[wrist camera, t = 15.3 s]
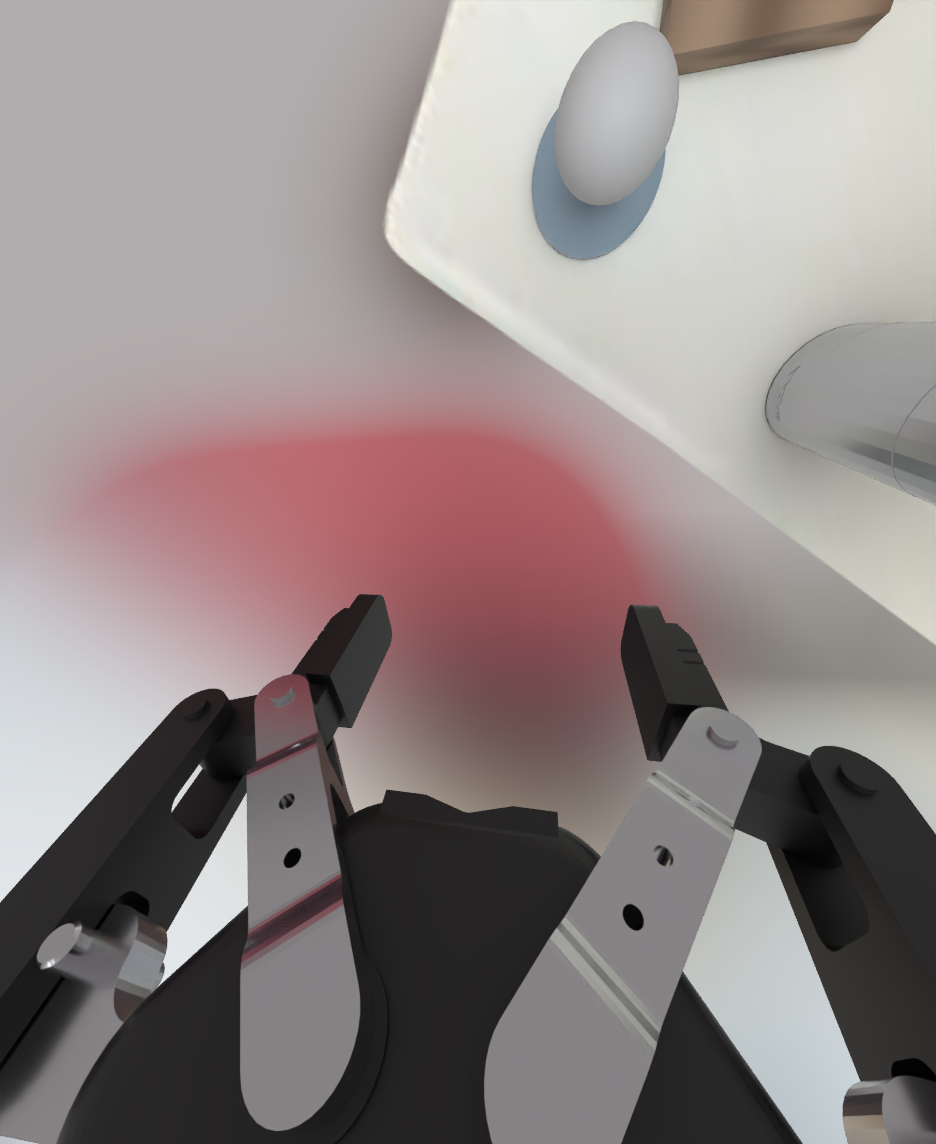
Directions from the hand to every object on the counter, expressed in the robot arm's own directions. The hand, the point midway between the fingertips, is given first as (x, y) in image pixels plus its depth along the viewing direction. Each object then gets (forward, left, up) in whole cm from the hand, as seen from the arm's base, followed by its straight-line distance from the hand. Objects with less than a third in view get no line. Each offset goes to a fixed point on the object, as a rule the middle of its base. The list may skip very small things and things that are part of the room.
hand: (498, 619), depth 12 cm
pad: (-5, -17, -30) cm, 35 cm away
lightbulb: (-5, -17, -29) cm, 34 cm away
